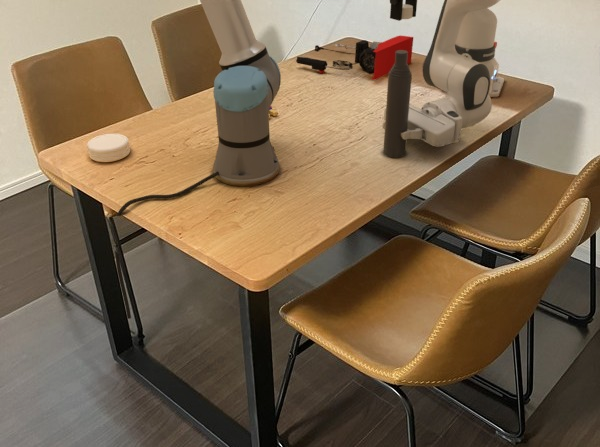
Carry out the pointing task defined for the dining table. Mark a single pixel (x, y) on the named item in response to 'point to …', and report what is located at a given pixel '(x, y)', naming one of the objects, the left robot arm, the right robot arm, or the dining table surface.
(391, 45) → the electric hoist
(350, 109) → the dining table surface
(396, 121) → the bottle
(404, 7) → the cap
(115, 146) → the white round disc
